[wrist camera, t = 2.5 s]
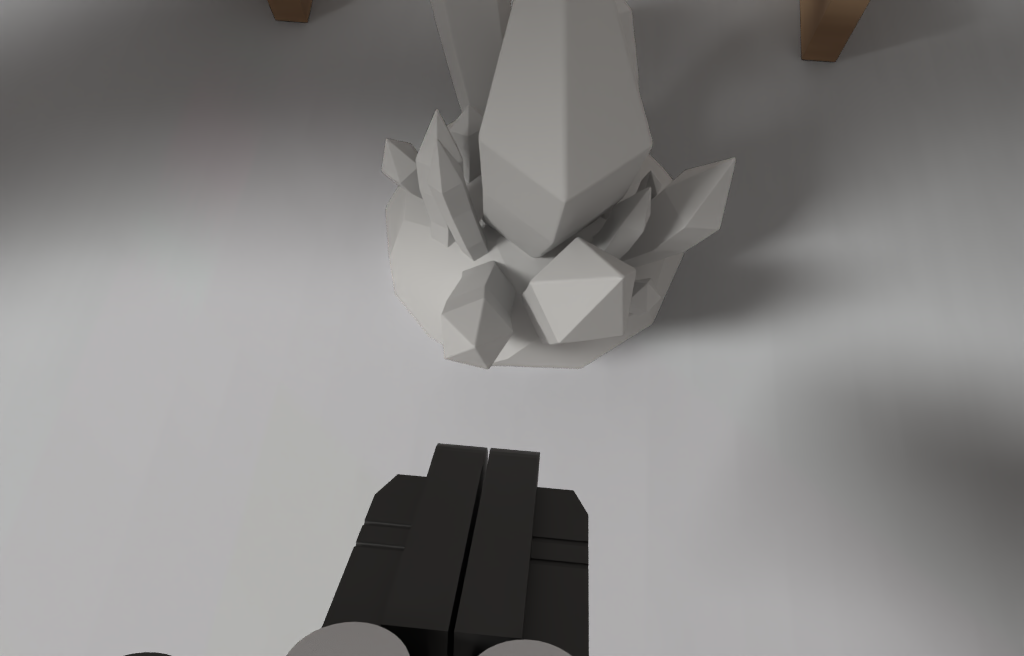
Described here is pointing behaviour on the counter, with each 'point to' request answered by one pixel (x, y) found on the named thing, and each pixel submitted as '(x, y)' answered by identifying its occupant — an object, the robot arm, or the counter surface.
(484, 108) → the crystal
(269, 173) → the counter surface
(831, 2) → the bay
